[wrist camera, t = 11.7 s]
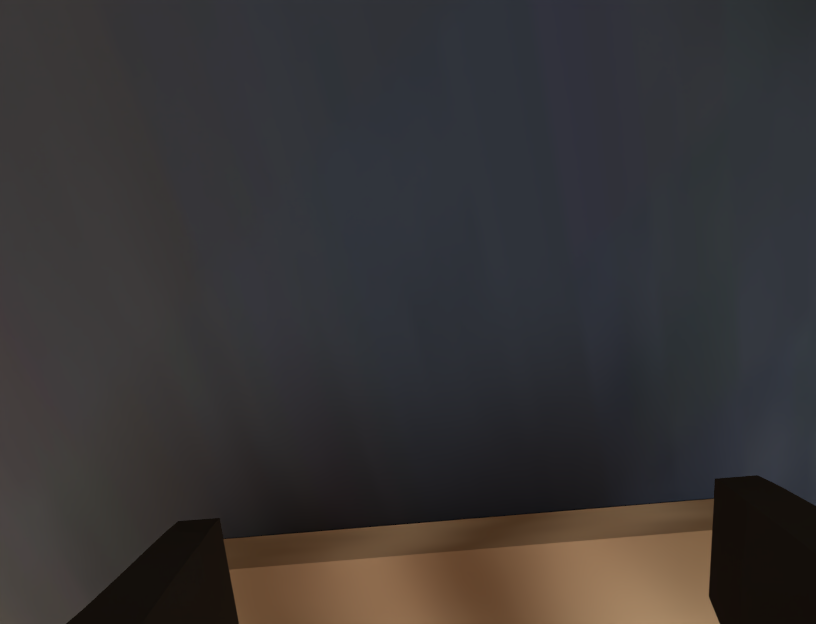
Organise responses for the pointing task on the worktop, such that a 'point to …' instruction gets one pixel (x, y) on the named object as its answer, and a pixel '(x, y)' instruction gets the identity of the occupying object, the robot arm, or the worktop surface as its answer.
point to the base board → (486, 570)
